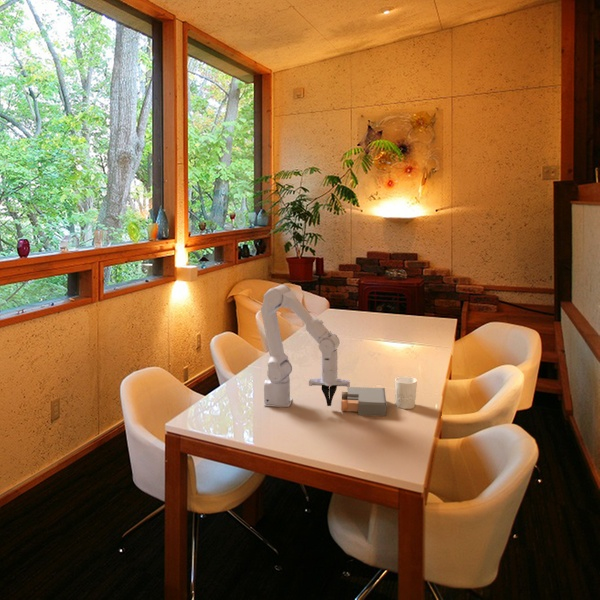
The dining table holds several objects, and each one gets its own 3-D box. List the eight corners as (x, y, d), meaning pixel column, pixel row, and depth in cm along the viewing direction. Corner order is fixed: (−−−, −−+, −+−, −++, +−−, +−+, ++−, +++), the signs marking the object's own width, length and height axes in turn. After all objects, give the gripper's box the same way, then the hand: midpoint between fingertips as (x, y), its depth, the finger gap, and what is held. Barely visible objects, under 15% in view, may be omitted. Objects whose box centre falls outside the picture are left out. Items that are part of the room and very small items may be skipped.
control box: (346, 414, 183) (346, 401, 182) (348, 399, 197) (348, 386, 196) (385, 416, 181) (386, 402, 180) (384, 400, 195) (384, 388, 194)
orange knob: (341, 412, 184) (341, 402, 183) (341, 408, 188) (341, 398, 187) (372, 413, 183) (372, 403, 182) (372, 409, 186) (372, 399, 186)
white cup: (400, 411, 185) (401, 384, 183) (390, 402, 193) (391, 377, 191) (420, 408, 187) (421, 382, 185) (409, 400, 195) (410, 375, 193)
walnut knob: (341, 403, 192) (341, 393, 191) (342, 399, 196) (342, 390, 195) (371, 404, 191) (371, 394, 190) (371, 400, 194) (371, 391, 194)
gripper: (307, 371, 181) (308, 408, 183) (349, 372, 179) (349, 410, 181) (309, 365, 187) (310, 400, 190) (350, 366, 186) (349, 402, 188)
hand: (329, 404), depth 186 cm, fingers closed
